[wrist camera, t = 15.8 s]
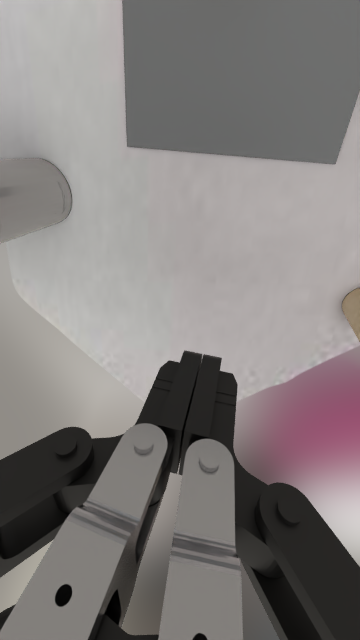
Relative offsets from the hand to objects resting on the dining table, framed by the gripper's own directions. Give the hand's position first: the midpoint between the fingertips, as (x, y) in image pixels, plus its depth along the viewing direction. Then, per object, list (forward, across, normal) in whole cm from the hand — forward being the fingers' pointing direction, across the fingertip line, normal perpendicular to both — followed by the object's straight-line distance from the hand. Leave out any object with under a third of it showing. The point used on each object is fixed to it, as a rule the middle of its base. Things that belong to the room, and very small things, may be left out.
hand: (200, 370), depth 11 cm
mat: (+32, +3, -19) cm, 37 cm away
